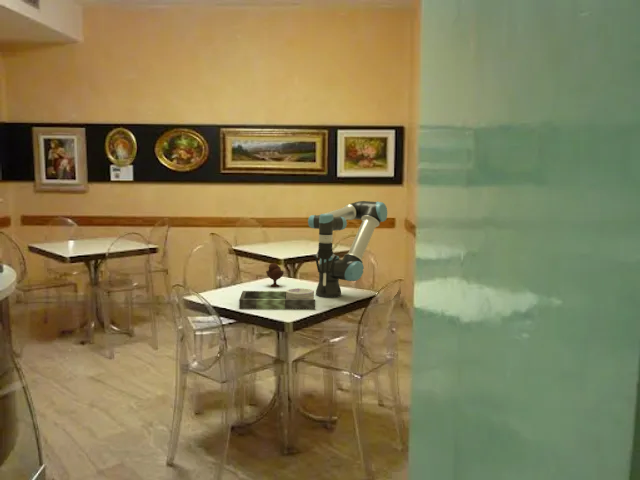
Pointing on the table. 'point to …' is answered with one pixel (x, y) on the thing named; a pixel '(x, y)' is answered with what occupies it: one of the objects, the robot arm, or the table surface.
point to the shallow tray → (272, 301)
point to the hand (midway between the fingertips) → (324, 285)
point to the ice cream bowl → (274, 273)
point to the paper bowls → (299, 294)
